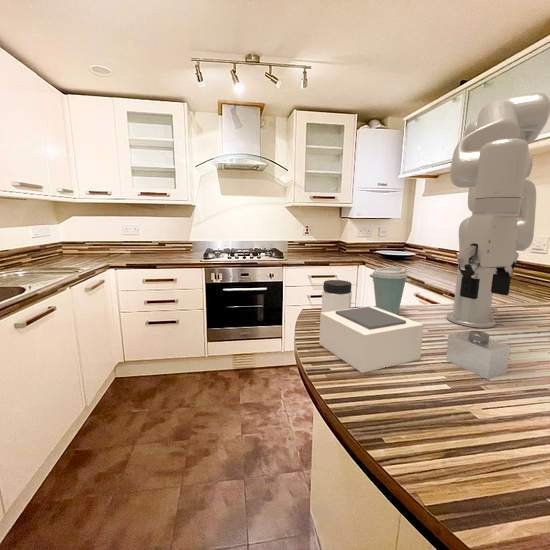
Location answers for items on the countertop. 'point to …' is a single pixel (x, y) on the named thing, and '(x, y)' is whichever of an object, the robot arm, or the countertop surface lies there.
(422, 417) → the countertop surface
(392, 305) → the disposable coffee cup
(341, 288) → the jar
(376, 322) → the stand
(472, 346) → the housing
